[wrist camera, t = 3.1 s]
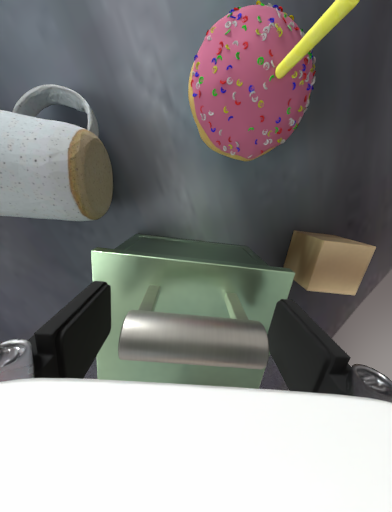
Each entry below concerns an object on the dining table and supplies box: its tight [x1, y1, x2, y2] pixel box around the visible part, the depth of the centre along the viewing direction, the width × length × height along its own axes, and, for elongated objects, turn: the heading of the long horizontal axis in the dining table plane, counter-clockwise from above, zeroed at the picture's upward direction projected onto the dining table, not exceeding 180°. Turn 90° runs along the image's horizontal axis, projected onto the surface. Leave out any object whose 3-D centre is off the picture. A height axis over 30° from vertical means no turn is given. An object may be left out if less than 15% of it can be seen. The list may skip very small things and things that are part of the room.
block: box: [283, 231, 376, 295], centre depth 19 cm, size 5×5×5 cm
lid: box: [91, 247, 295, 389], centre depth 12 cm, size 16×13×6 cm
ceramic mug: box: [0, 85, 113, 221], centre depth 14 cm, size 11×8×8 cm
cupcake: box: [188, 0, 360, 161], centre depth 12 cm, size 9×8×12 cm
